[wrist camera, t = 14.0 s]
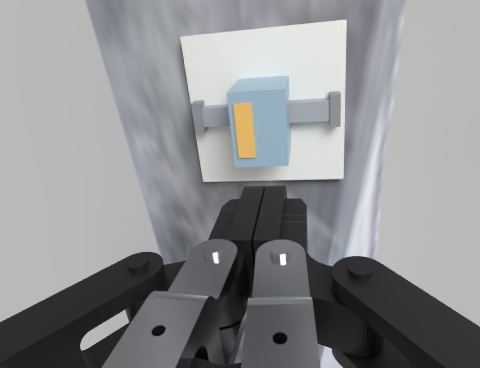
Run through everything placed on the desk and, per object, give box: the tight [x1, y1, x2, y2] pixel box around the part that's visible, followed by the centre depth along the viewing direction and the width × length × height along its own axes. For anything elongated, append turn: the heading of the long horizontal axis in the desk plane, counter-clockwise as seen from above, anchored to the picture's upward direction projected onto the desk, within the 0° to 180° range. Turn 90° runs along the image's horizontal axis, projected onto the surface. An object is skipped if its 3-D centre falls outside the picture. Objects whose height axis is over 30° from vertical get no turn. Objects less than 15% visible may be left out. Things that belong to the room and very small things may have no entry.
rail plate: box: [180, 20, 346, 182], centre depth 38 cm, size 16×16×2 cm
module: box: [227, 75, 291, 167], centre depth 35 cm, size 7×5×7 cm
